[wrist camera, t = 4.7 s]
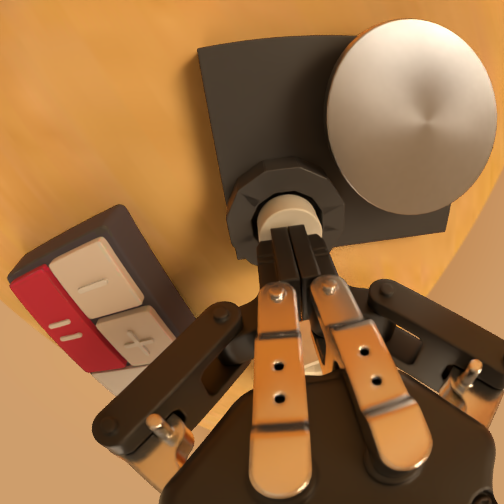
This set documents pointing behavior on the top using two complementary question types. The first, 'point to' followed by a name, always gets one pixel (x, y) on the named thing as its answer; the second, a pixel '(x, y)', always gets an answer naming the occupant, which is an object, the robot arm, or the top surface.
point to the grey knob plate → (288, 141)
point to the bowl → (309, 350)
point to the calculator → (102, 297)
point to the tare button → (287, 215)
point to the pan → (410, 116)
